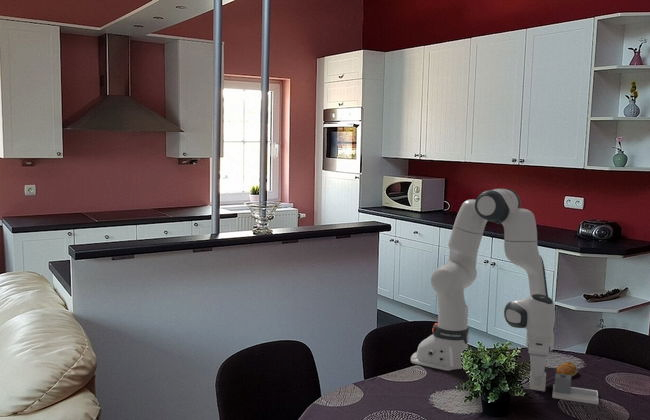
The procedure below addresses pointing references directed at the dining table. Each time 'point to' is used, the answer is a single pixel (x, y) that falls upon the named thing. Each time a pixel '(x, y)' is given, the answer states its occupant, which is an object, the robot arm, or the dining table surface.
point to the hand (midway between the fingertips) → (538, 381)
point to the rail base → (572, 391)
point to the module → (542, 383)
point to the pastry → (567, 369)
